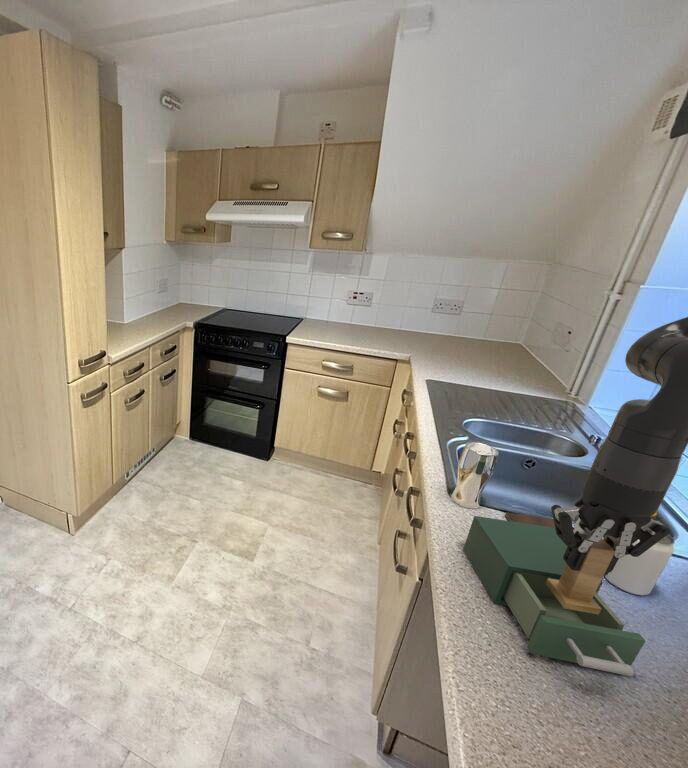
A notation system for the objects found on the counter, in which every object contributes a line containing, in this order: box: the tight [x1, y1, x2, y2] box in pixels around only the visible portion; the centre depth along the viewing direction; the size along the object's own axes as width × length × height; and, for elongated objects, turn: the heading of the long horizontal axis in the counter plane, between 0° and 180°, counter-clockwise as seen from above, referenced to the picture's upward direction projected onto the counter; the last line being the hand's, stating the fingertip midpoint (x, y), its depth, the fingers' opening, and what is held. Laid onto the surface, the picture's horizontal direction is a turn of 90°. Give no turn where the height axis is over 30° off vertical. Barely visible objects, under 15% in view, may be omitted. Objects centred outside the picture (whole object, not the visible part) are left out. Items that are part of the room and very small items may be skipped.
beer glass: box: [450, 441, 500, 510], centre depth 100 cm, size 7×7×15 cm
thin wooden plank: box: [504, 511, 555, 529], centre depth 90 cm, size 10×14×1 cm
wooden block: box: [546, 537, 615, 615], centre depth 64 cm, size 5×5×11 cm
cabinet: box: [462, 515, 604, 607], centre depth 78 cm, size 14×14×9 cm
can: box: [603, 533, 675, 596], centre depth 77 cm, size 6×6×12 cm
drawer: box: [503, 571, 646, 677], centre depth 66 cm, size 17×13×7 cm
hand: (585, 568), depth 64 cm, fingers closed on wooden block, 3 cm apart
